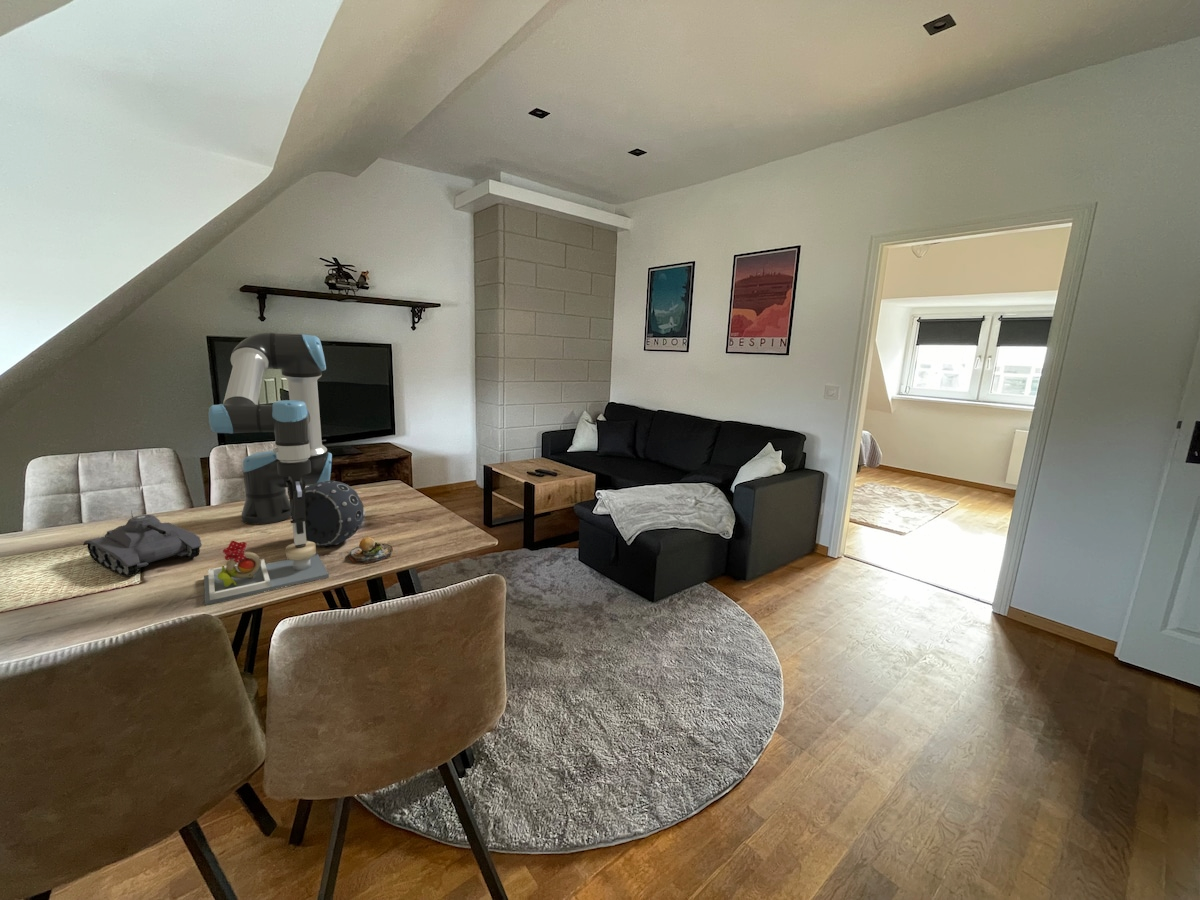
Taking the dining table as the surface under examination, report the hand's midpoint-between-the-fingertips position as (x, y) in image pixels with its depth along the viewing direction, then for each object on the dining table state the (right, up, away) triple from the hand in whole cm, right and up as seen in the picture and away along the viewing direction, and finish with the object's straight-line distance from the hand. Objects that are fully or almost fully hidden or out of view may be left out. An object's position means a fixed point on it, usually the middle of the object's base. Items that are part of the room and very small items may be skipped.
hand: (300, 543), depth 131 cm
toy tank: (-46, -6, +4) cm, 46 cm away
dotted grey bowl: (-4, -4, +21) cm, 21 cm away
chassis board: (-7, -9, -3) cm, 11 cm away
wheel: (0, -3, +1) cm, 3 cm away
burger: (+13, -7, +14) cm, 20 cm away
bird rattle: (-11, -8, -7) cm, 16 cm away
